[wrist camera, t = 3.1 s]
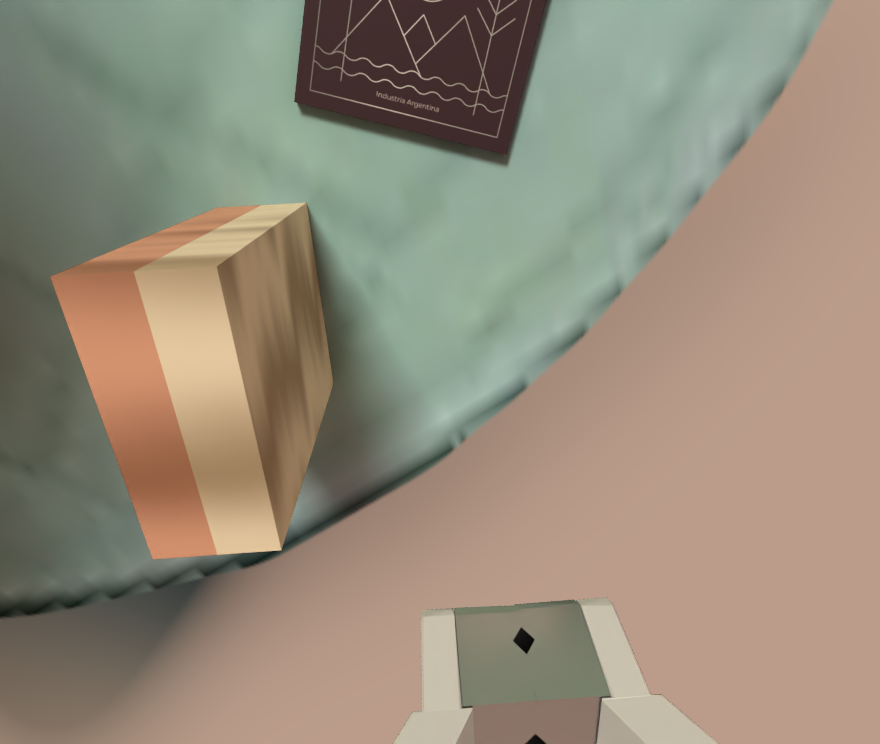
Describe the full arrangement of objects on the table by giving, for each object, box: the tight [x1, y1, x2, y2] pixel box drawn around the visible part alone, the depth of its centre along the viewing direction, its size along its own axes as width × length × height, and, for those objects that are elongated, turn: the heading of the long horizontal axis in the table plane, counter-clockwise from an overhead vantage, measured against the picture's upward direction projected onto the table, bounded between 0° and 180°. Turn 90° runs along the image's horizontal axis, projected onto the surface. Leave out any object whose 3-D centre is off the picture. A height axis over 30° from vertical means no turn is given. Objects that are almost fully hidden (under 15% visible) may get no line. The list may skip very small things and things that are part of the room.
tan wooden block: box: [50, 203, 333, 559], centre depth 20 cm, size 9×4×12 cm, turn 3°
